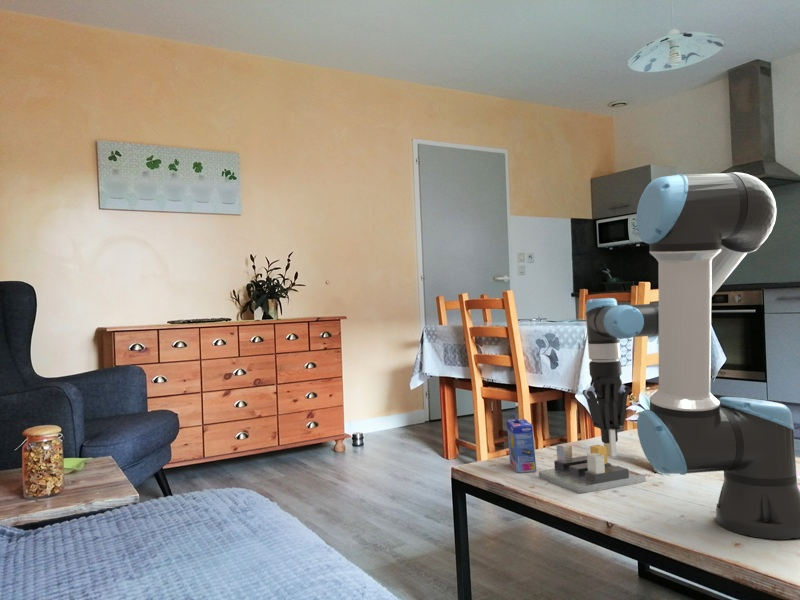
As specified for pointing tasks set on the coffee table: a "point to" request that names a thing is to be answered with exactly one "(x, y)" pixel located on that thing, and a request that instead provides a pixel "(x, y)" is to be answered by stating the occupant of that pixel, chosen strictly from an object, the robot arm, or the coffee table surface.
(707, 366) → the robot arm
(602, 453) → the block
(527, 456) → the ink cartridge box
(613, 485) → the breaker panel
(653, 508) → the coffee table surface
